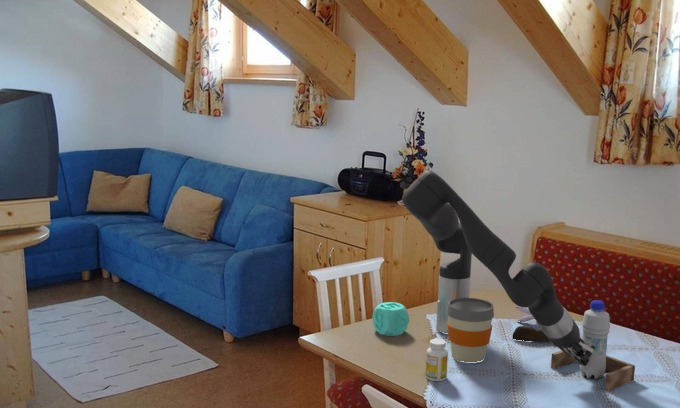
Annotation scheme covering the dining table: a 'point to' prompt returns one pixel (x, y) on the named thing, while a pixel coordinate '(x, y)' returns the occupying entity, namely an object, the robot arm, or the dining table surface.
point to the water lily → (526, 317)
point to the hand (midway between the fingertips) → (584, 362)
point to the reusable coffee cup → (469, 328)
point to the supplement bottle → (436, 360)
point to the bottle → (596, 338)
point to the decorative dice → (390, 319)
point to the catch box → (616, 369)
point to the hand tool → (529, 334)
